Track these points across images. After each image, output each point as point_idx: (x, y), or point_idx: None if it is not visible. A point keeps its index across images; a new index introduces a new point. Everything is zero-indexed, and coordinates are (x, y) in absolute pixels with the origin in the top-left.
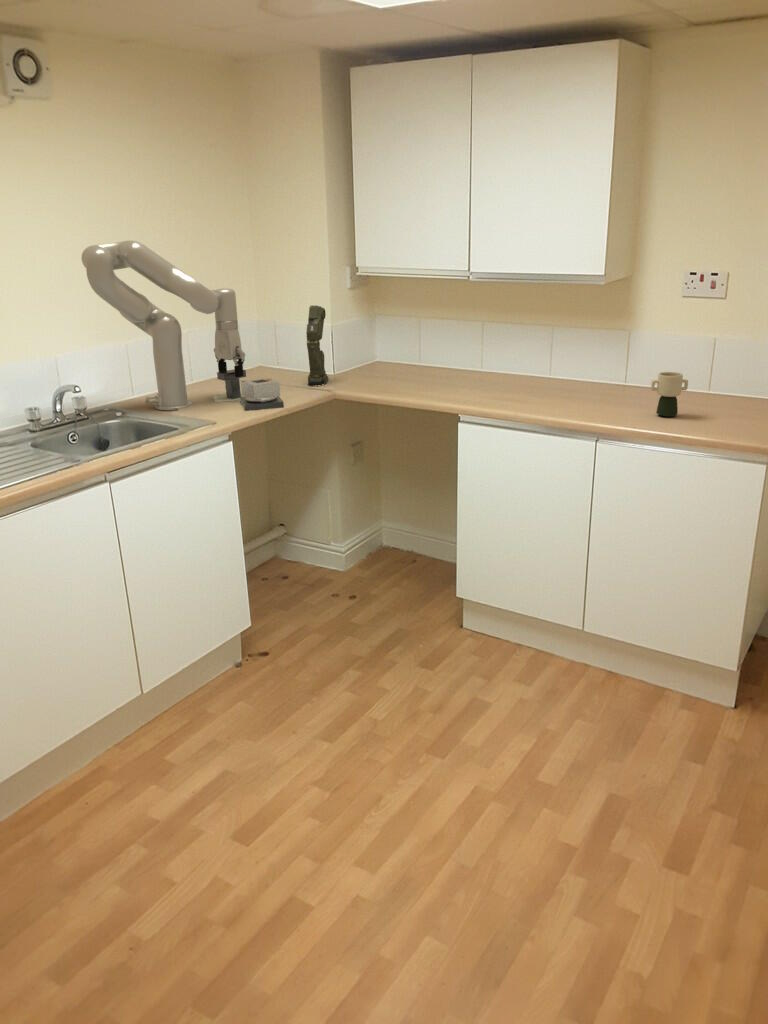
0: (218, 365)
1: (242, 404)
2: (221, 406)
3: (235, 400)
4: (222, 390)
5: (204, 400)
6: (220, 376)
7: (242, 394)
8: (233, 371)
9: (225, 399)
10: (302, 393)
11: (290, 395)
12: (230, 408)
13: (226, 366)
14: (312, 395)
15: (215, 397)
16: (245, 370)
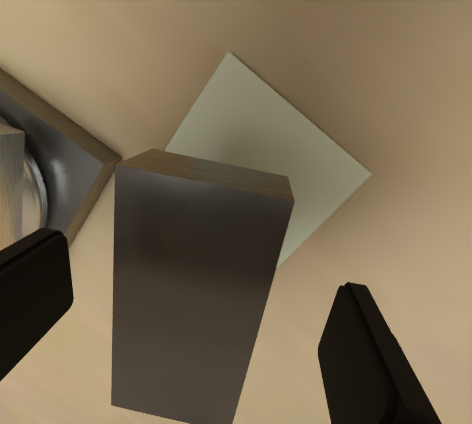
0: (398, 364)
1: (26, 94)
2: (137, 18)
3: None
4: (442, 328)
5: (377, 91)
6: (220, 172)
7: (12, 130)
8: (147, 320)
9: (228, 148)
10: (69, 394)
11: (74, 359)
12: (44, 9)
13: (329, 413)
14: (13, 383)
15: (330, 157)
16: (113, 399)
